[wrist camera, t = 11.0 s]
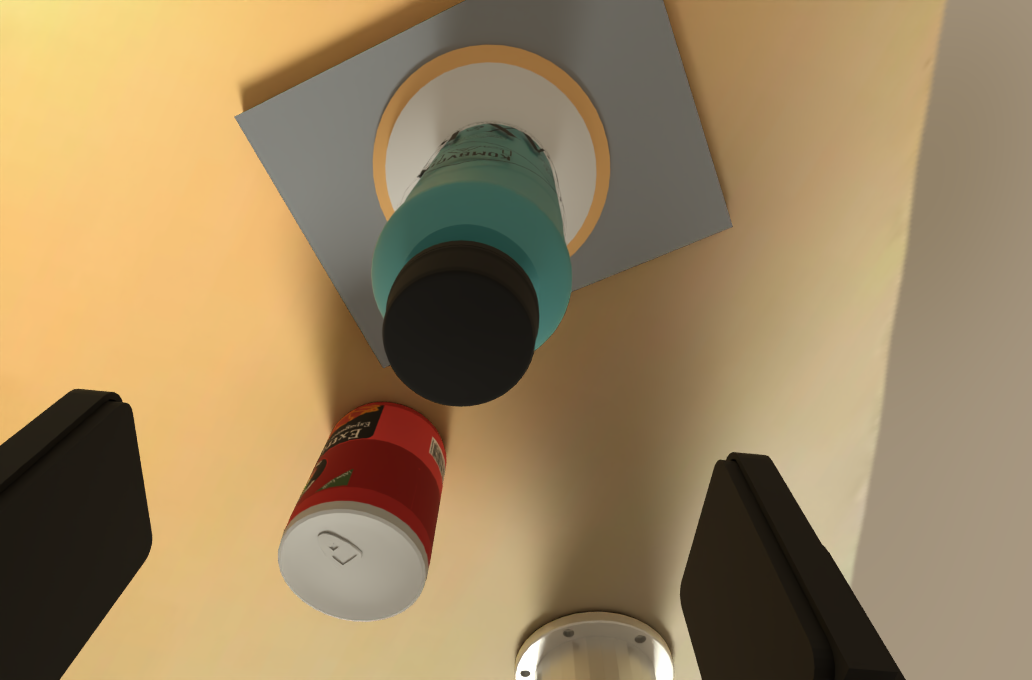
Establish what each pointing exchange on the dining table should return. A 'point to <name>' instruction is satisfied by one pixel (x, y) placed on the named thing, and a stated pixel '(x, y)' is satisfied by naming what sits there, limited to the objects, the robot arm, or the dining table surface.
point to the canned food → (367, 515)
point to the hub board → (506, 98)
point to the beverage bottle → (473, 267)
